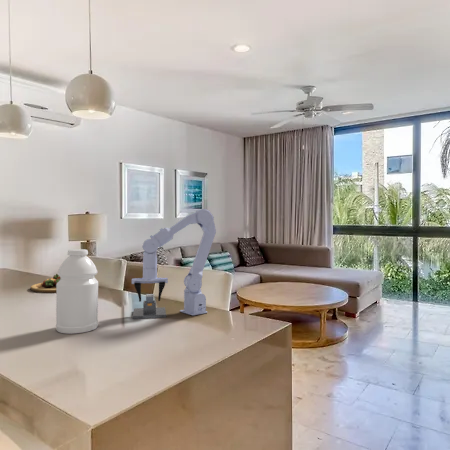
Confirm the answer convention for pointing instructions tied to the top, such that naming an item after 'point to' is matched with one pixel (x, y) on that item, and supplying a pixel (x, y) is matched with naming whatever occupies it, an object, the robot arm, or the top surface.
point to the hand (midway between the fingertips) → (149, 300)
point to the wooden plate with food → (46, 285)
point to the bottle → (77, 294)
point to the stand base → (149, 311)
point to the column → (149, 298)
